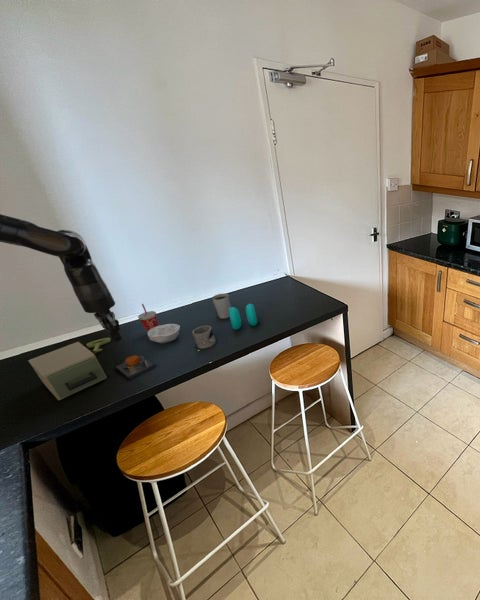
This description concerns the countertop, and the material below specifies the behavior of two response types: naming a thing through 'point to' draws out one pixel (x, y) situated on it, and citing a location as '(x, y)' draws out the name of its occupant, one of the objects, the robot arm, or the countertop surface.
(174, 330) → the cell model
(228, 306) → the drinking glass
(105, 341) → the key
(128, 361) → the button
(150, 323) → the beverage cup
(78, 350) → the small drawer cabinet
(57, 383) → the pull-out drawer
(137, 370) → the control block
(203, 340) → the mug
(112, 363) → the countertop surface
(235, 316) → the donuts
